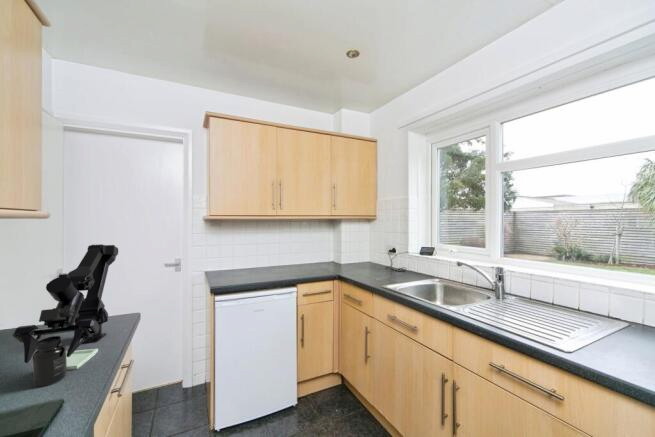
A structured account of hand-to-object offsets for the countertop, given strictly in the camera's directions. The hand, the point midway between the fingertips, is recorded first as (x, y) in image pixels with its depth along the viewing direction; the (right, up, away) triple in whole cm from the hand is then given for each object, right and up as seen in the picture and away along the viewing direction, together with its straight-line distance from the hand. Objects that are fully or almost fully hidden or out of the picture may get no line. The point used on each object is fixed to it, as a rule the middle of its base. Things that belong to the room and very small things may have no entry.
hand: (47, 359), depth 78 cm
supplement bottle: (0, -7, +1) cm, 7 cm away
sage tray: (-4, -6, +11) cm, 13 cm away
